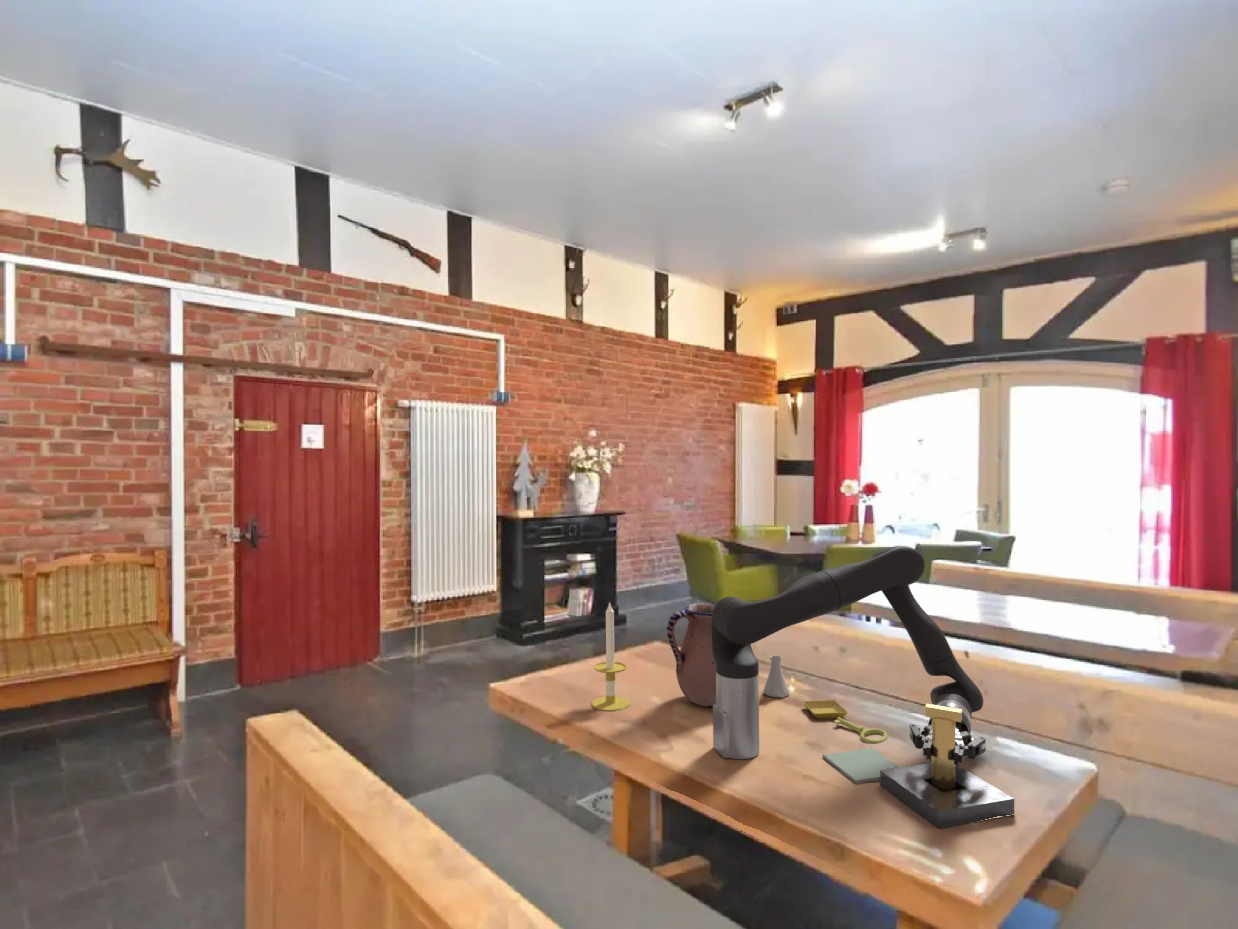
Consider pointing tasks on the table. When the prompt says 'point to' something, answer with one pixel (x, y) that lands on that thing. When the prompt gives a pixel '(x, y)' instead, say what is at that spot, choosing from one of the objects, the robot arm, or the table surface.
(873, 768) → the mat
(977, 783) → the cover plate
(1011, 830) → the table surface
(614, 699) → the candle
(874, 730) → the key
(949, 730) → the t key
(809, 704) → the yellow square tray
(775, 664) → the flask
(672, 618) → the ceramic pitcher
